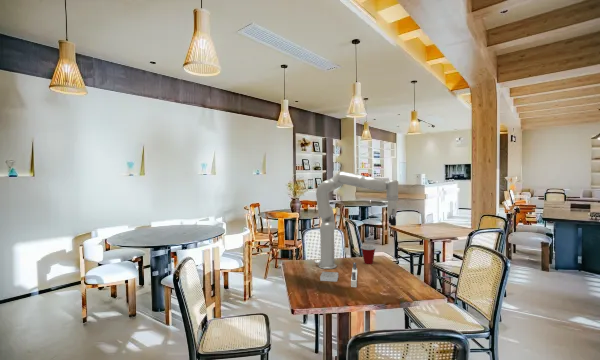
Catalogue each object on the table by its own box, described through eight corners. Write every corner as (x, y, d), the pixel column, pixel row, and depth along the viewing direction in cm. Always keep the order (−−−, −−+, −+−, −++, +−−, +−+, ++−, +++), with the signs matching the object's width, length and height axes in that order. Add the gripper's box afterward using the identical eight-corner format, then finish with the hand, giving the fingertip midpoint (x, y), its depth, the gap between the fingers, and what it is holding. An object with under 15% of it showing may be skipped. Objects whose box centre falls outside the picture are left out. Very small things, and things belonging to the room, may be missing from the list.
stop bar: (351, 287, 180) (351, 273, 180) (352, 273, 206) (352, 261, 205) (356, 287, 179) (356, 274, 179) (357, 273, 205) (357, 262, 205)
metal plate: (320, 281, 191) (320, 276, 191) (322, 276, 201) (322, 271, 201) (337, 282, 190) (337, 277, 189) (338, 277, 199) (338, 272, 199)
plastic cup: (358, 264, 228) (358, 247, 228) (363, 260, 237) (363, 244, 237) (373, 266, 223) (373, 248, 223) (377, 262, 232) (377, 245, 232)
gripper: (384, 197, 221) (384, 222, 221) (388, 199, 204) (388, 226, 204) (396, 197, 220) (396, 222, 220) (400, 199, 203) (400, 226, 203)
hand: (392, 224), depth 212 cm, fingers open, 9 cm apart
